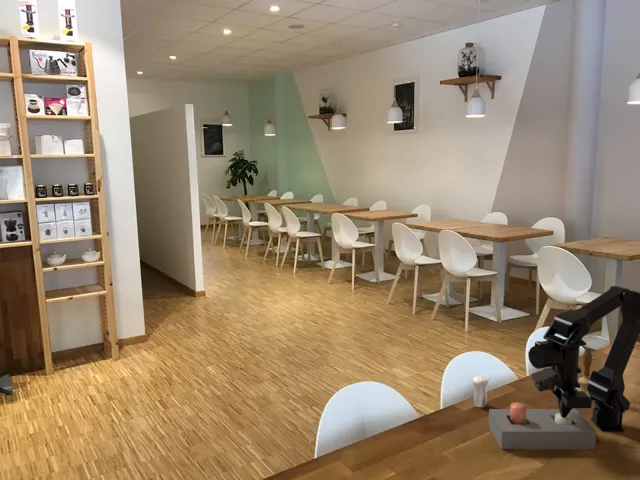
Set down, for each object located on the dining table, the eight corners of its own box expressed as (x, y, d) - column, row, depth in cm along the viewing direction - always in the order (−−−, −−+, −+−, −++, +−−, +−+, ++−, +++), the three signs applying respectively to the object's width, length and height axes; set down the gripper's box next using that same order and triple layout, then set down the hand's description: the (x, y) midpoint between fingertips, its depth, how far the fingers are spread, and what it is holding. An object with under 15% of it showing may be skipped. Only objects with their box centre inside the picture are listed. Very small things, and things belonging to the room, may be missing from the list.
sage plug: (566, 430, 144) (567, 413, 144) (572, 437, 140) (574, 420, 140) (551, 430, 145) (552, 413, 144) (557, 437, 141) (558, 420, 140)
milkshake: (491, 409, 158) (492, 378, 157) (472, 408, 159) (473, 377, 158) (489, 402, 163) (490, 372, 161) (471, 401, 164) (472, 370, 162)
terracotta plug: (522, 419, 144) (523, 402, 144) (527, 427, 140) (528, 409, 140) (507, 419, 145) (508, 402, 144) (512, 427, 141) (513, 409, 140)
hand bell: (592, 405, 160) (596, 355, 157) (565, 395, 166) (568, 347, 164) (605, 396, 165) (608, 348, 162) (578, 387, 171) (581, 341, 169)
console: (574, 425, 148) (575, 408, 147) (595, 449, 136) (596, 431, 136) (488, 425, 149) (489, 409, 149) (501, 449, 138) (502, 431, 137)
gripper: (523, 349, 149) (521, 400, 151) (549, 377, 130) (546, 435, 133) (563, 349, 148) (560, 400, 151) (595, 377, 130) (591, 435, 132)
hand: (563, 417), depth 142 cm, fingers closed, pressing on sage plug
